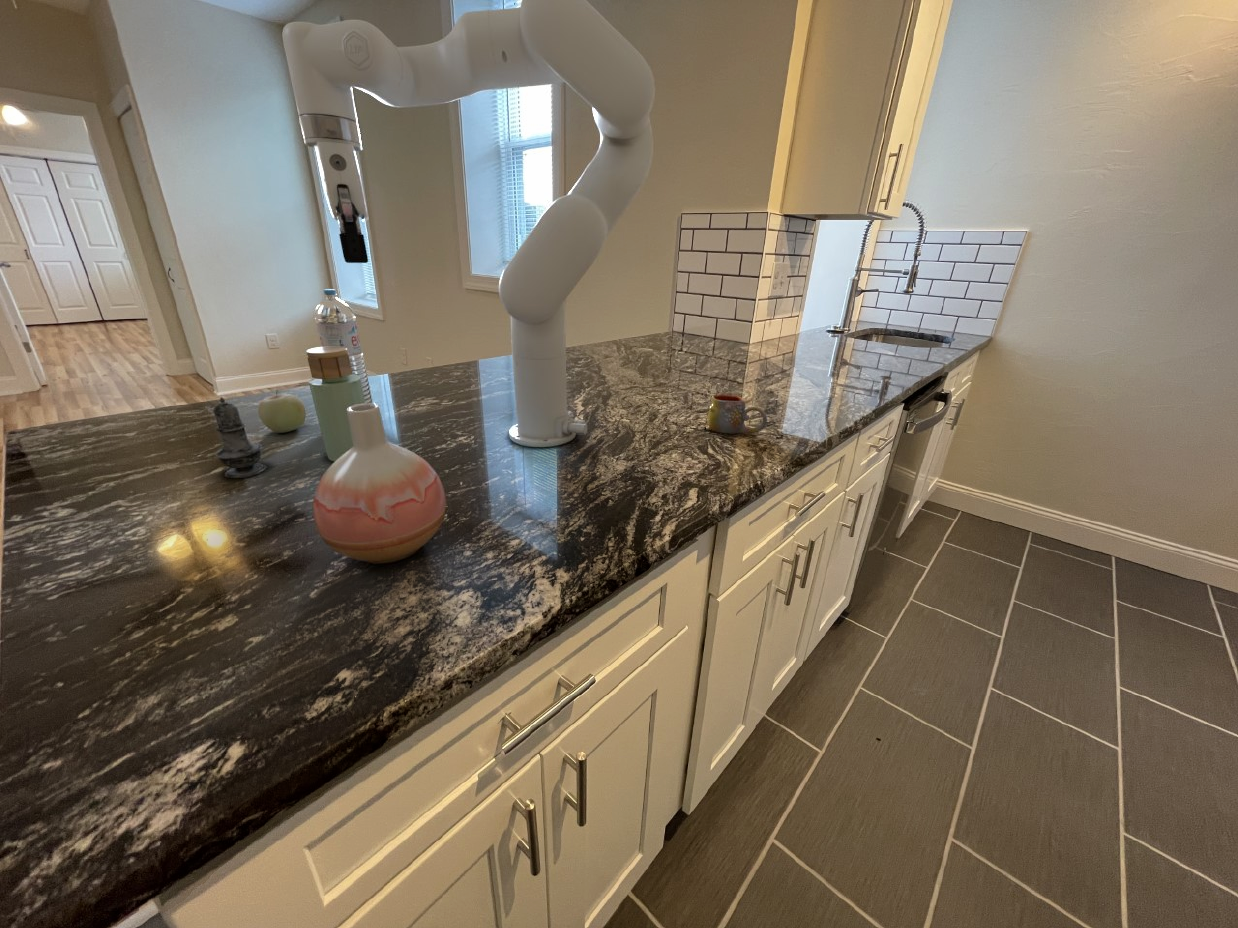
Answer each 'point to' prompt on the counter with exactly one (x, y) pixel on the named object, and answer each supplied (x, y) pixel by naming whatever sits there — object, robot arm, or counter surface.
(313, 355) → the cap
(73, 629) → the counter surface
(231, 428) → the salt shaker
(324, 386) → the ceramic bottle
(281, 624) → the counter surface
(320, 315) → the water bottle
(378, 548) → the vase
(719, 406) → the mug
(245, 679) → the counter surface
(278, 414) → the fruit
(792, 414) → the counter surface
